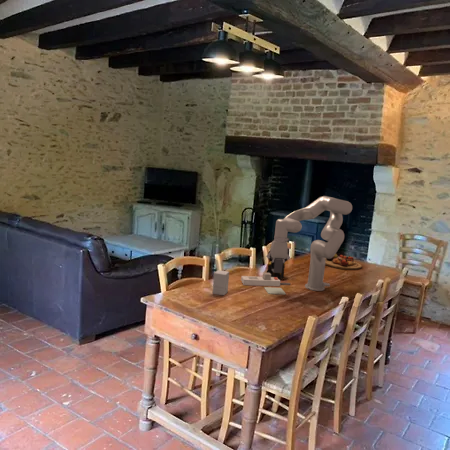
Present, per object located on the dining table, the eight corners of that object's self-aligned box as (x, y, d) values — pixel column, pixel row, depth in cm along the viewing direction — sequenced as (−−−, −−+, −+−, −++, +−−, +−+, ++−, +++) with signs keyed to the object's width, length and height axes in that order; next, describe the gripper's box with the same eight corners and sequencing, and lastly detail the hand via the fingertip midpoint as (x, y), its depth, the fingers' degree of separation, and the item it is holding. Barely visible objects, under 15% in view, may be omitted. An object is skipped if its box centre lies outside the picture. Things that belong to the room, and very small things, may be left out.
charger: (279, 270, 259) (281, 257, 258) (281, 272, 254) (283, 259, 253) (271, 270, 258) (273, 257, 257) (273, 272, 254) (275, 259, 252)
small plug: (268, 280, 274) (269, 272, 273) (270, 282, 270) (271, 274, 269) (262, 279, 273) (263, 272, 272) (264, 281, 269) (265, 274, 269)
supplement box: (227, 292, 250) (229, 271, 248) (223, 295, 243) (225, 274, 241) (216, 289, 252) (218, 269, 250) (211, 293, 245) (213, 272, 243)
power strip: (288, 282, 278) (289, 276, 278) (291, 286, 271) (292, 280, 270) (241, 281, 273) (241, 274, 273) (243, 285, 266) (243, 278, 265)
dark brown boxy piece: (265, 277, 286) (267, 263, 285) (269, 274, 296) (271, 260, 294) (280, 280, 283) (281, 266, 281) (283, 276, 292) (285, 263, 290)
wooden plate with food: (359, 273, 320) (361, 262, 319) (318, 265, 331) (319, 255, 330) (362, 265, 349) (364, 255, 348) (324, 258, 361) (325, 248, 359)
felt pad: (281, 288, 265) (281, 287, 265) (285, 294, 254) (286, 293, 254) (264, 288, 263) (264, 287, 263) (268, 293, 252) (268, 293, 252)
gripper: (292, 239, 258) (288, 267, 261) (265, 237, 255) (262, 266, 258) (295, 241, 251) (292, 271, 254) (268, 240, 248) (264, 269, 251)
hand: (276, 268), depth 256 cm, fingers closed on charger, 5 cm apart
